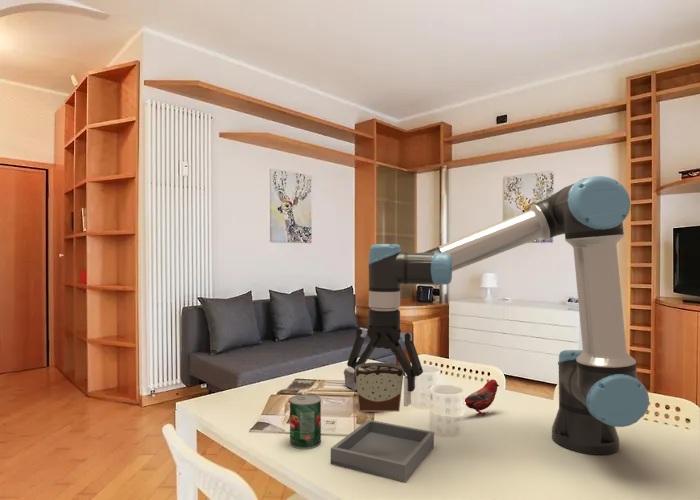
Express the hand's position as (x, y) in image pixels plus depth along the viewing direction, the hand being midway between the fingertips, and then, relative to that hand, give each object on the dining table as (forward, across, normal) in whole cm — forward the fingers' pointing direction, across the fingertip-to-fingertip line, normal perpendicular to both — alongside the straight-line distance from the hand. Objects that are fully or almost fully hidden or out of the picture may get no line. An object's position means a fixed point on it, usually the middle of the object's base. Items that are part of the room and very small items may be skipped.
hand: (383, 400), depth 107 cm
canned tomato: (+13, +20, +3) cm, 24 cm away
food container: (+2, +1, 0) cm, 2 cm away
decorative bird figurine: (+13, -14, -36) cm, 41 cm away
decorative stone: (+13, +28, -44) cm, 54 cm away
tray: (+13, 0, 0) cm, 13 cm away
